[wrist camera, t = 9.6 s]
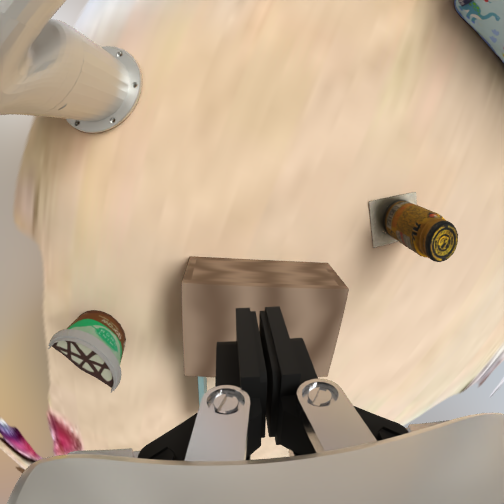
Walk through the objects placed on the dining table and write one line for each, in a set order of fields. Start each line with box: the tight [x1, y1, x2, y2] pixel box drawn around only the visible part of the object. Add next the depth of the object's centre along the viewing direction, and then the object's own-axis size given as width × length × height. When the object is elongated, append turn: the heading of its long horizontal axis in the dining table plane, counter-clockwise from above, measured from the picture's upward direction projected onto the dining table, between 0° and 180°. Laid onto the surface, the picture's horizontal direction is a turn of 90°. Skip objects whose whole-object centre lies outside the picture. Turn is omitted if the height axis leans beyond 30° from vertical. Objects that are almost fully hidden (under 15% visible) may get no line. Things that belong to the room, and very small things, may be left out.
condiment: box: [369, 192, 458, 262], centre depth 39 cm, size 7×8×12 cm
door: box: [198, 376, 207, 407], centre depth 47 cm, size 16×2×7 cm, turn 176°
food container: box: [48, 310, 126, 392], centre depth 42 cm, size 12×6×10 cm, turn 50°
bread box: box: [182, 257, 349, 377], centre depth 43 cm, size 20×14×9 cm
